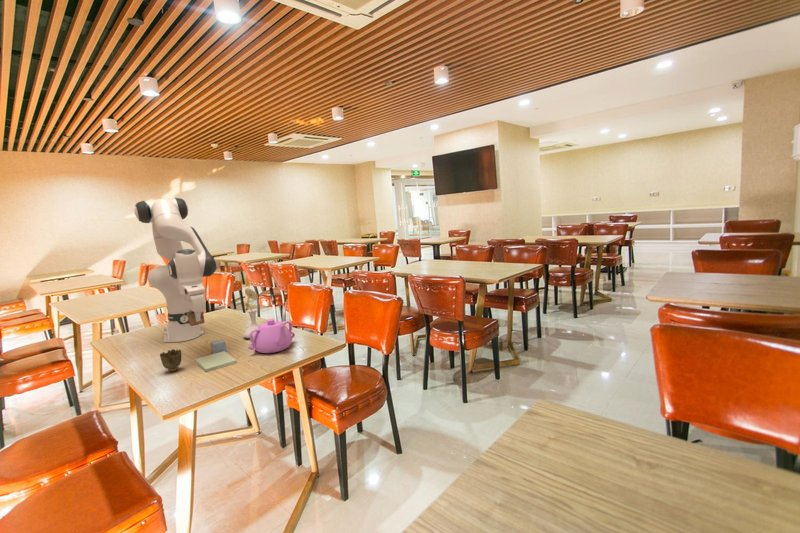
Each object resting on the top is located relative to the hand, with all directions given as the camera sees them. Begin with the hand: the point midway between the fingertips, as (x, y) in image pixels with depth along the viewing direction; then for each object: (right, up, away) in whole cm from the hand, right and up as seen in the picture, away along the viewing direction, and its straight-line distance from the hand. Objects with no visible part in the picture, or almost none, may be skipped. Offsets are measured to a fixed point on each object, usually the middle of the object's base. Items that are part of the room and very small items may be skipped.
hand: (196, 319), depth 158 cm
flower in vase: (+12, -13, +33) cm, 37 cm away
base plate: (+8, -18, 0) cm, 20 cm away
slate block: (+4, -17, +12) cm, 21 cm away
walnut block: (0, -2, 0) cm, 2 cm away
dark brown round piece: (-5, -20, -7) cm, 22 cm away
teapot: (+30, -15, +11) cm, 36 cm away
